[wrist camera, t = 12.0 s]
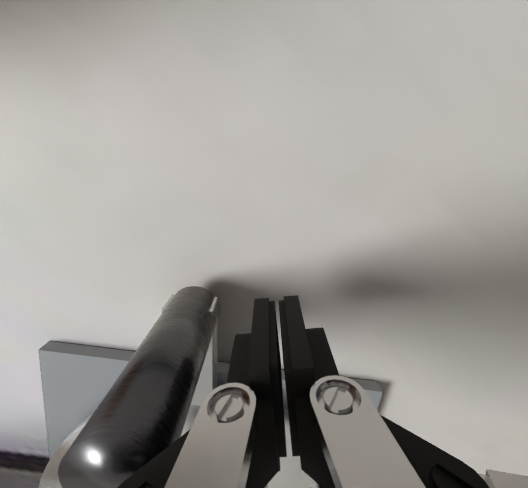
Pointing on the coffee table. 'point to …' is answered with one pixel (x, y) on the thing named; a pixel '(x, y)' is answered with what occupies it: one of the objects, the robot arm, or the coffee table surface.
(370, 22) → the coffee table surface
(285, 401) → the plinth
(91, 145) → the coffee table surface
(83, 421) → the turntable
